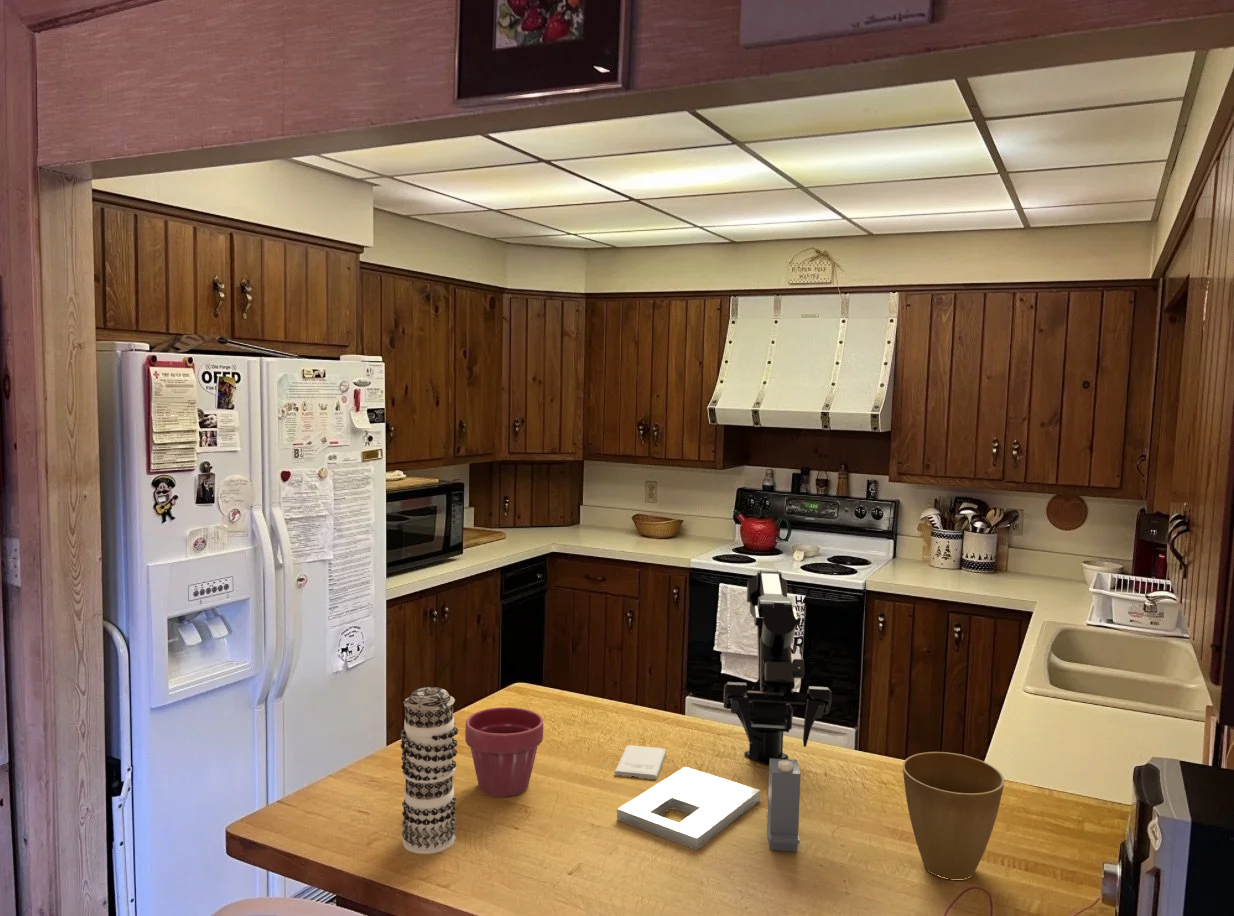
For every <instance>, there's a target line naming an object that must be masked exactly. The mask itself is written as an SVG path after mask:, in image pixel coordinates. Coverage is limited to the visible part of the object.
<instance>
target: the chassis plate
mask: <svg viewBox="0 0 1234 916" xmlns="http://www.w3.org/2000/svg"><path fill="white" fill-rule="evenodd" d="M760 801H761V789H757V788H755V787H751V786H749V785H748V786H747V785H745V784H742V783H738V782H736V781H732V780H729V779H727V778H724V777H720V776H716V775H713V774H710V773H707V772H704V771H701V770H698V769H694V768H691V767H688V766H684V767H682V768H681V769H679V770H677V771H676V772H674V773H672V774H671V775H670V776H668V777H666V778H664V779H663V780H661V781H660V782H658V783H656V784H654V786H652V787H650V788H648V789H646V790H645V791H644V792H642V793H640V794H639V795H637V796H636V797H634V798H632V799H631V800H629V801H628V802H626V803H624V804H623V805H621V806H619V807H618V808H617V810H616V821H619V822H622V823H623V824H626V825H629V826H631V827H634V828H637V829H639V830H641V831H644V832H647V833H650V834H653V835H656V836H658V837H660V838H663V839H666V840H668V841H671V842H674V843H677V844H679V845H682V846H683V847H684V846H685V847H687V848H690V849H692V850H696V851H698V850H699V849H700V848H701V847H703V846H704V845H705V844H706V843H708V842H709V841H710V840H712V838H713V839H714V837H715V836H717V835H718V834H720V832H721V831H723V830H725V828H727V827H728V826H729V825H730V823H731V824H732V823H733V822H735V821H736V820H737V819H739V818H740V817H741V816H742V815H744V814H745V813H746V812H747V811H748V809H749V808H750V809H752V808H753V807H752V806H755V805H757V804H758V803H759V802H760ZM757 802H758V803H757ZM670 808H671V809H672V808H674V809H673V810H675V809H676V810H675V811H678V810H679V811H678V812H680V811H681V813H683V812H684V814H686V813H687V814H686V815H688V816H687V817H685V818H684V819H683V820H681V821H680V822H678V821H675V820H672V819H669V818H667V817H663V816H662V815H664V814H665V813H666V811H667V810H668V811H669V809H670ZM671 809H670V810H671ZM750 809H749V810H750ZM668 811H667V812H668ZM745 811H746V812H745ZM664 812H665V813H664ZM744 812H745V813H744ZM663 813H664V814H663ZM743 813H744V814H743ZM689 814H690V815H689ZM741 814H742V815H741ZM660 815H661V816H660ZM740 815H741V816H740ZM739 816H740V817H739ZM734 820H735V821H734Z"/></svg>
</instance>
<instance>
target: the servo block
mask: <svg viewBox="0 0 1234 916" xmlns="http://www.w3.org/2000/svg"><path fill="white" fill-rule="evenodd" d="M768 767H769V771H768V791H767V792H768V793H767V811H766V822H767V823H766V825H767V826H766V835H767V836H768V837H767V843H768V848H769V849H768V850H769V851H772V850H774V851H785V852H786V851H787V852H798V851H799V850H798V849H799V848H798V847H799V845H800V837H799V823H800V800H801V799H800V798H801V775H802V774H801V771H800V766H799V763H798V759H788V758H787V759H772V758H770V762H769V765H768Z"/></svg>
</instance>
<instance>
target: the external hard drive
mask: <svg viewBox="0 0 1234 916" xmlns="http://www.w3.org/2000/svg"><path fill="white" fill-rule="evenodd" d="M623 751H624V752H623V753H622V755H621V757H620V760H619V761H618V764H617V766H616V768H615V771H614V775H615V774H616V775H615V776H617V775H624V776H623V777H626V776H634V777H633V778H638V779H644V778H648V779H647V780H653V779H655V780H658V776H659V774H660V772H659V771H661V768H662V765H663V764H664V761H665V758H666V756H667V750H666V749H665V748H660V747H651V746H643V745H642V746H641V745H631V744H630V745H629V744H627V745H626V747H625V749H624V750H623Z"/></svg>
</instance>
